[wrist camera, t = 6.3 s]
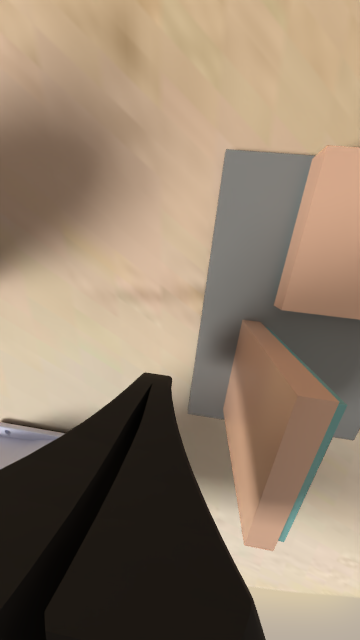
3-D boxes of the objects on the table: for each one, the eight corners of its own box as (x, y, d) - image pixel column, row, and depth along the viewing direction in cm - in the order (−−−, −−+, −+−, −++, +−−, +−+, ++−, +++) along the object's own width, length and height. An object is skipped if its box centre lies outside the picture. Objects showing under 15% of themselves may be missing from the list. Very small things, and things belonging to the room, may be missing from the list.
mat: (188, 409, 14) (187, 413, 13) (225, 153, 9) (226, 149, 9) (349, 434, 13) (353, 440, 12) (479, 172, 8) (492, 168, 8)
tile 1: (222, 409, 13) (244, 545, 7) (242, 319, 11) (297, 395, 5) (244, 413, 13) (285, 553, 7) (267, 322, 11) (356, 404, 5)
